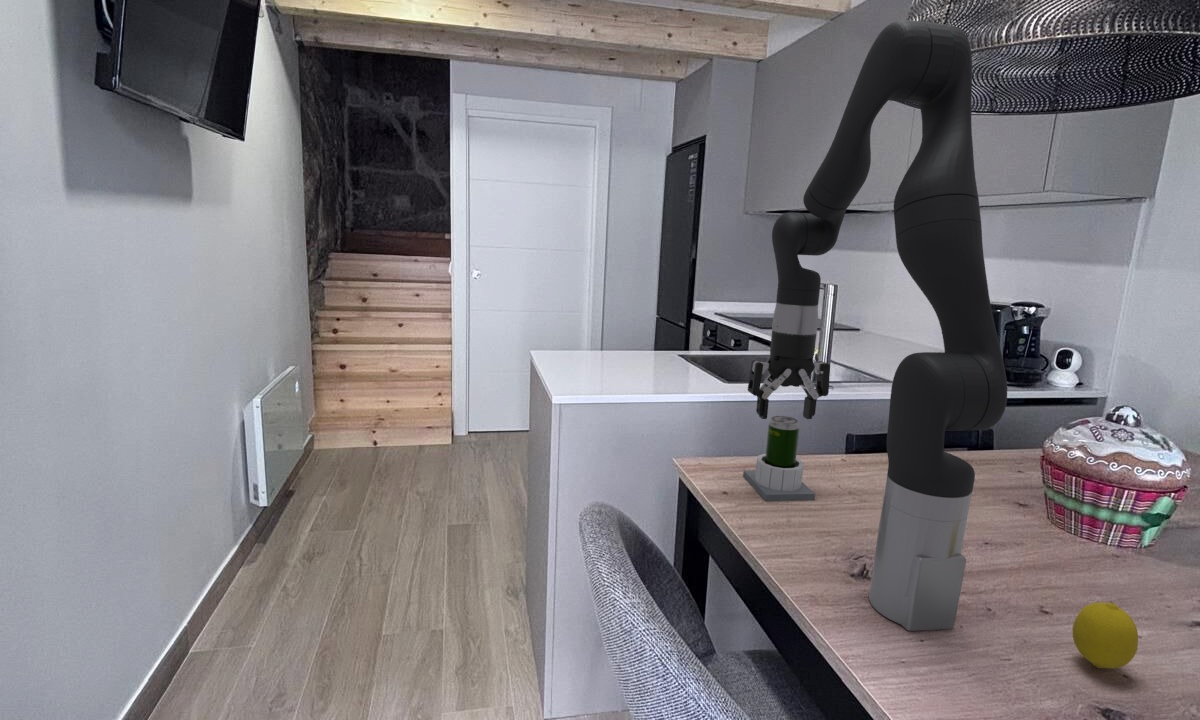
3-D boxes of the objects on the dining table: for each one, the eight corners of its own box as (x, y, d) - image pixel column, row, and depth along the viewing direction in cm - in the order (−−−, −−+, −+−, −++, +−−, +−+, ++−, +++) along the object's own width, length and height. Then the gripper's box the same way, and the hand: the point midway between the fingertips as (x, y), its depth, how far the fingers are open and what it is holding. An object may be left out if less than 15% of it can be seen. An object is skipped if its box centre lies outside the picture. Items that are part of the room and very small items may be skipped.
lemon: (1058, 646, 72) (1072, 585, 70) (1113, 657, 70) (1129, 594, 69) (1079, 677, 67) (1094, 612, 65) (1139, 690, 65) (1157, 624, 64)
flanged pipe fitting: (814, 500, 109) (817, 472, 108) (765, 501, 108) (768, 473, 107) (788, 475, 120) (790, 450, 119) (743, 476, 118) (745, 450, 117)
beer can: (783, 490, 110) (790, 426, 107) (757, 480, 114) (763, 419, 111) (798, 482, 113) (805, 420, 111) (773, 473, 117) (779, 413, 115)
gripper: (764, 332, 103) (755, 424, 106) (843, 333, 105) (832, 424, 108) (747, 325, 110) (740, 412, 113) (822, 327, 112) (812, 412, 115)
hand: (785, 418), depth 111 cm, fingers open, 8 cm apart
